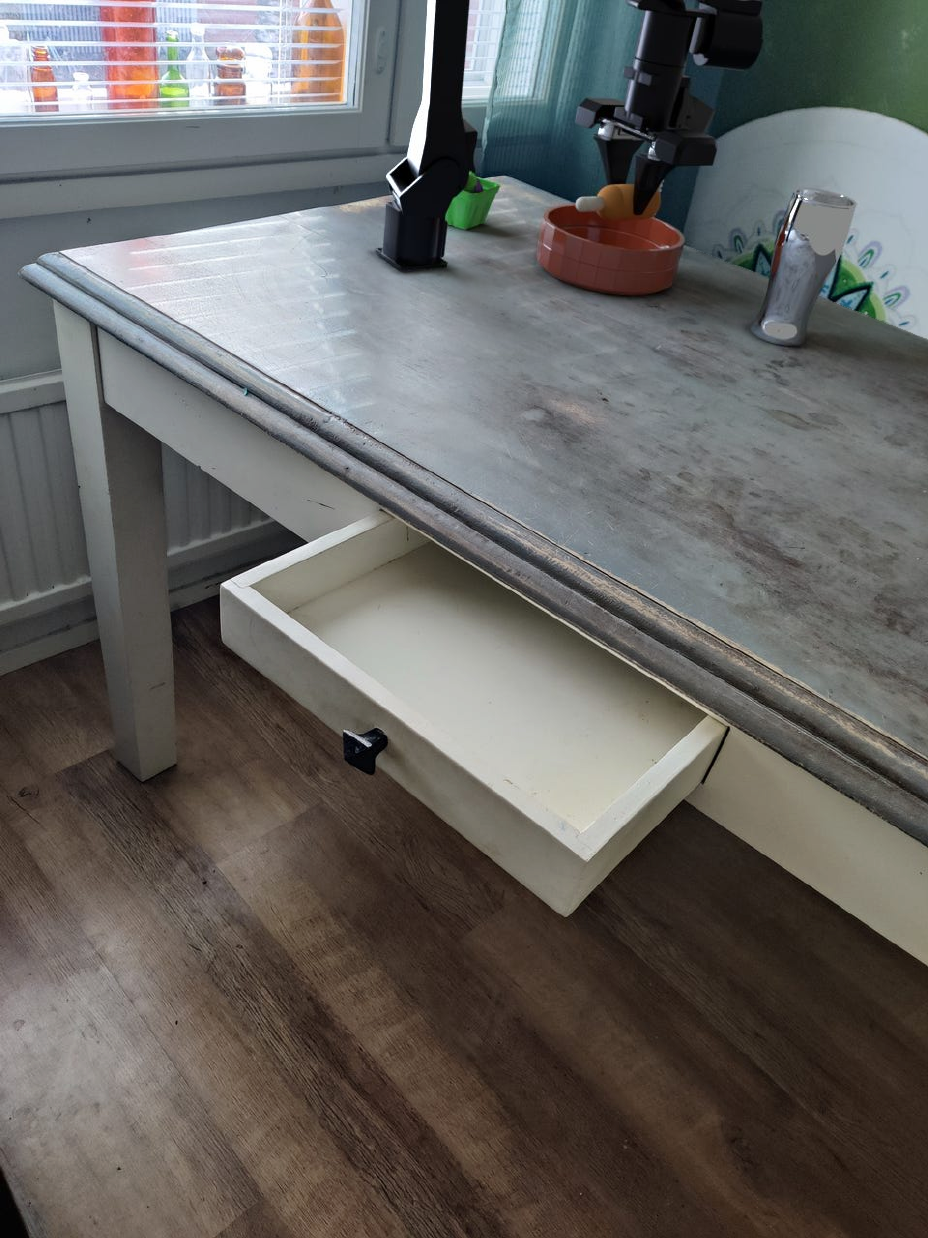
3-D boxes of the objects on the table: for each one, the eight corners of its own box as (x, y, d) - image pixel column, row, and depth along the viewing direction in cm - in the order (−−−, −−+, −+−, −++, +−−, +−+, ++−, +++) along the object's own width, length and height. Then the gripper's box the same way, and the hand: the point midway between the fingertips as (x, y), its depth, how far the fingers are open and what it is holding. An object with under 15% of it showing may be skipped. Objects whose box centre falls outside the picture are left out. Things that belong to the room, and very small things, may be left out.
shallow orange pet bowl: (628, 308, 109) (640, 260, 105) (508, 262, 116) (515, 215, 113) (696, 280, 120) (708, 235, 117) (582, 239, 127) (591, 196, 124)
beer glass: (809, 332, 110) (859, 196, 101) (806, 353, 105) (858, 211, 96) (749, 318, 111) (793, 182, 102) (744, 337, 106) (789, 196, 97)
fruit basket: (497, 223, 128) (511, 132, 121) (463, 236, 122) (475, 140, 115) (427, 201, 132) (436, 111, 125) (390, 212, 126) (397, 118, 119)
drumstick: (641, 212, 118) (649, 178, 116) (662, 223, 116) (671, 188, 113) (563, 216, 112) (570, 180, 110) (584, 227, 110) (591, 191, 108)
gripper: (771, 82, 103) (728, 231, 112) (659, 46, 114) (628, 184, 124) (697, 79, 97) (657, 236, 107) (586, 42, 109) (560, 186, 119)
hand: (626, 209), depth 114 cm, fingers closed on drumstick, 4 cm apart
